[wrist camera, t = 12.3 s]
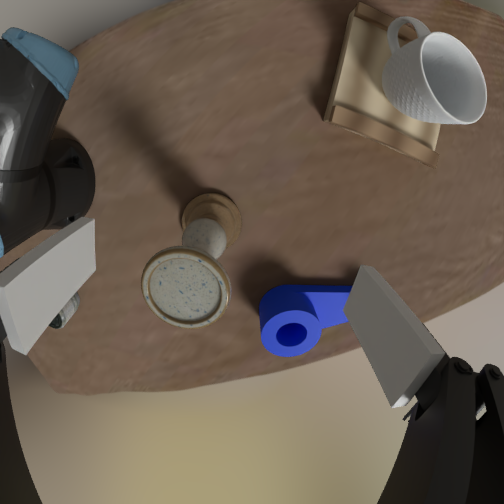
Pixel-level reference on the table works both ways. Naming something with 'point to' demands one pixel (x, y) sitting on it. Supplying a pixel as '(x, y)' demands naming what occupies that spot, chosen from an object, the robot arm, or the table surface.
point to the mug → (433, 77)
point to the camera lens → (66, 312)
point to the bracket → (299, 316)
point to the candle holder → (194, 266)
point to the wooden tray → (375, 89)
